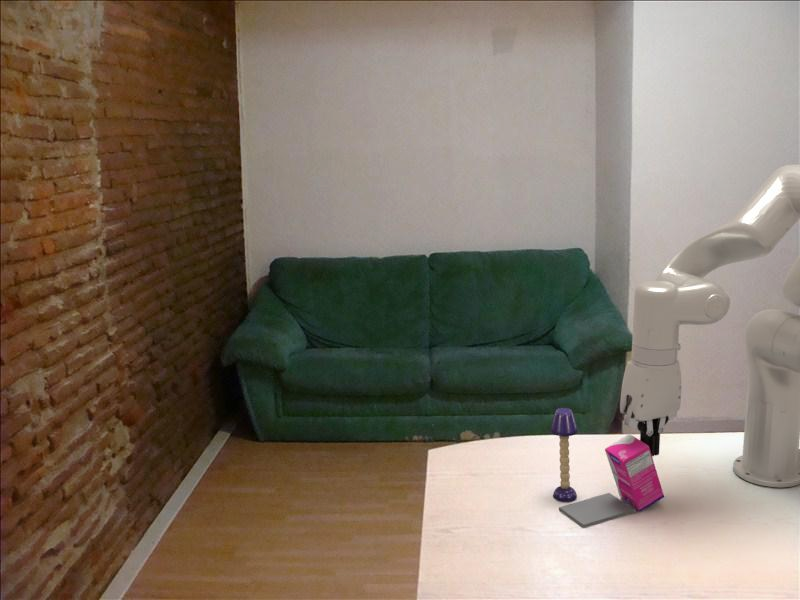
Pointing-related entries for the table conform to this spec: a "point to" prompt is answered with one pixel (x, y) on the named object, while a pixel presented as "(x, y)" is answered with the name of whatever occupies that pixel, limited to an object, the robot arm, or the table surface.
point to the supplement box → (634, 472)
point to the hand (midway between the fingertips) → (649, 453)
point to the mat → (596, 510)
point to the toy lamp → (564, 452)
